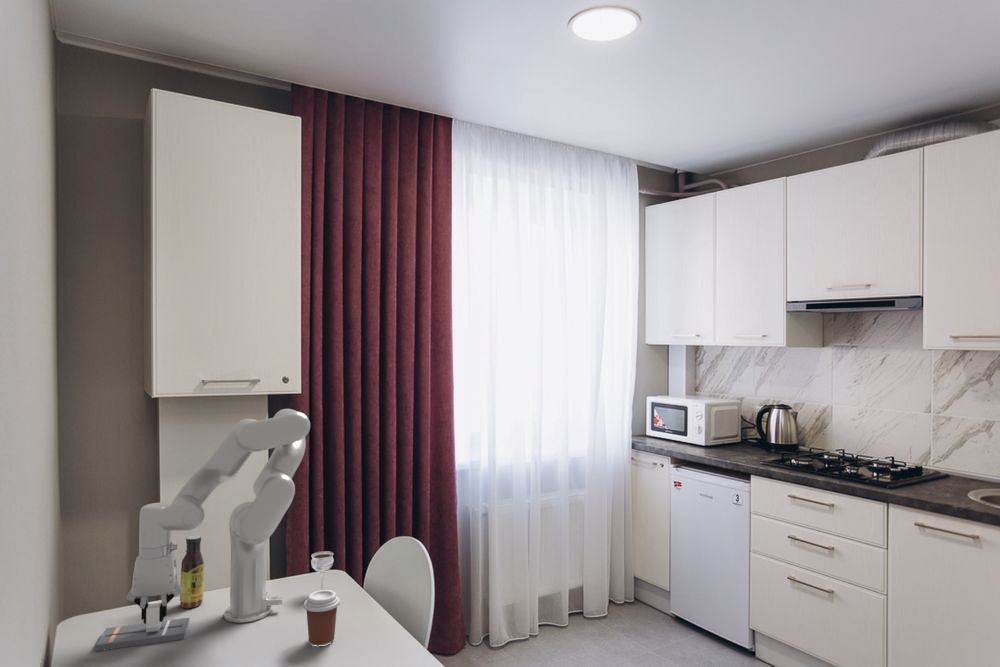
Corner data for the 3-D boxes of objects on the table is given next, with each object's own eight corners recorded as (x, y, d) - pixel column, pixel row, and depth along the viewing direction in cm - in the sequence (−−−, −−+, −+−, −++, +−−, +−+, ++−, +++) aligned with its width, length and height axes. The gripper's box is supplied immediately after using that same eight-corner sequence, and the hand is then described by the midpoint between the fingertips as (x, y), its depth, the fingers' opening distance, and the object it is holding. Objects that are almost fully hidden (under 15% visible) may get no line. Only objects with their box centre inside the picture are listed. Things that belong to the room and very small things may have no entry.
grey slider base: (189, 622, 172) (189, 617, 172) (184, 639, 162) (184, 632, 162) (106, 633, 165) (106, 627, 165) (95, 651, 155) (95, 644, 155)
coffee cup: (301, 636, 164) (302, 591, 164) (336, 630, 167) (337, 586, 167) (305, 652, 155) (305, 604, 155) (342, 645, 159) (342, 598, 159)
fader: (162, 622, 167) (162, 600, 167) (158, 630, 162) (159, 607, 162) (149, 624, 166) (149, 601, 166) (145, 632, 161) (146, 609, 162)
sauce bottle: (193, 610, 180) (194, 541, 180) (174, 608, 181) (175, 540, 181) (208, 601, 186) (209, 534, 186) (190, 599, 187) (191, 533, 188)
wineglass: (306, 597, 189) (307, 557, 189) (316, 588, 196) (317, 550, 196) (327, 598, 188) (327, 559, 188) (337, 590, 195) (337, 551, 195)
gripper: (191, 543, 171) (190, 610, 171) (123, 549, 165) (122, 619, 165) (187, 552, 164) (186, 622, 163) (116, 559, 158) (115, 631, 158)
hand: (154, 619), depth 164 cm, fingers closed on fader, 3 cm apart
